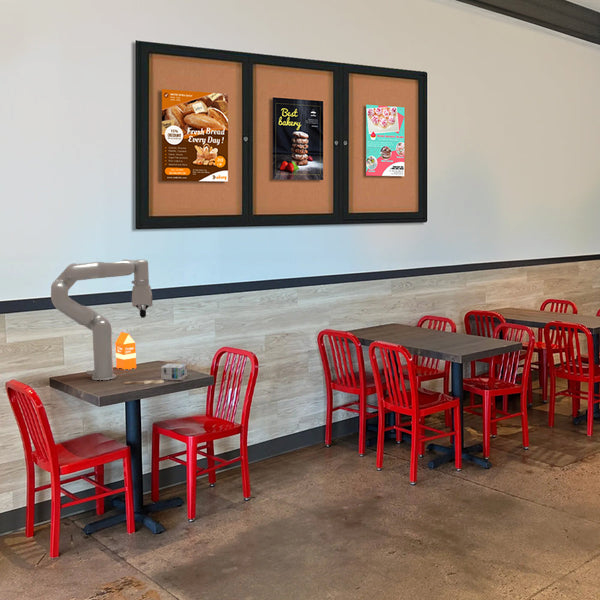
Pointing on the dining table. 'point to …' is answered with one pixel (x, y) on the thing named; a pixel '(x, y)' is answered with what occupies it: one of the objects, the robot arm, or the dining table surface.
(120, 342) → the orange juice
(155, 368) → the dining table surface
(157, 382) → the beech turner
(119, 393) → the dining table surface
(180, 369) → the light bulb box
